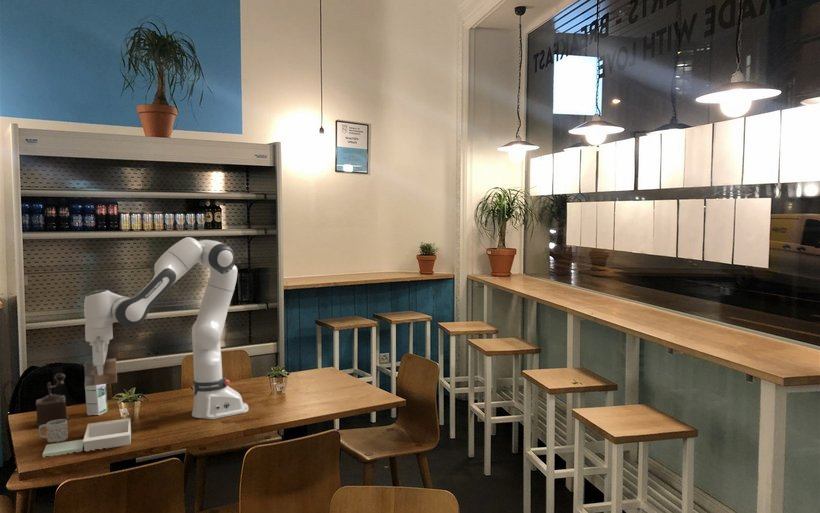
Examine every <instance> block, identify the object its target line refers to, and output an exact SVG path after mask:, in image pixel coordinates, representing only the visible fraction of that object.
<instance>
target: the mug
mask: <svg viewBox="0 0 820 513" xmlns="http://www.w3.org/2000/svg"><path fill="white" fill-rule="evenodd" d="M43 428H45V429H46V434H43ZM38 435H39V437H40V438H42V439H45V440H46V441H47V443H49V442H56V443H61V442H65V441H67V440H68V439H69V431H68V422H67V420H66V419H58V420H53V421H50V422H47V423H46V424H44V425H41V426H39V428H38ZM67 438H68V439H67ZM66 439H67V440H66ZM60 441H61V442H60Z"/></svg>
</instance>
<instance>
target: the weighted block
mask: <svg viewBox="0 0 820 513" xmlns="http://www.w3.org/2000/svg"><path fill="white" fill-rule="evenodd" d="M83 364H84V366H83V367H84V387H85V386H92V385H101V384H106V385H108V384H117V382H118V374H117V373H118V371H117V369H118V368H117V358H116V357H114V358H106V360H105V364H104V365H103V375H98V373H97V366H94V365H93V359H92V360H85V361H84V363H83Z"/></svg>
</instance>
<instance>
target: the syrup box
mask: <svg viewBox="0 0 820 513" xmlns="http://www.w3.org/2000/svg"><path fill="white" fill-rule="evenodd" d="M84 391H85V404H86V405H85V406H86V415H87V416H91V415H99V416H101V415H103V414H105V413H107V411H108V412H109V408H108V394H107V384H101V385H92V386H85V385H84Z"/></svg>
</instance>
